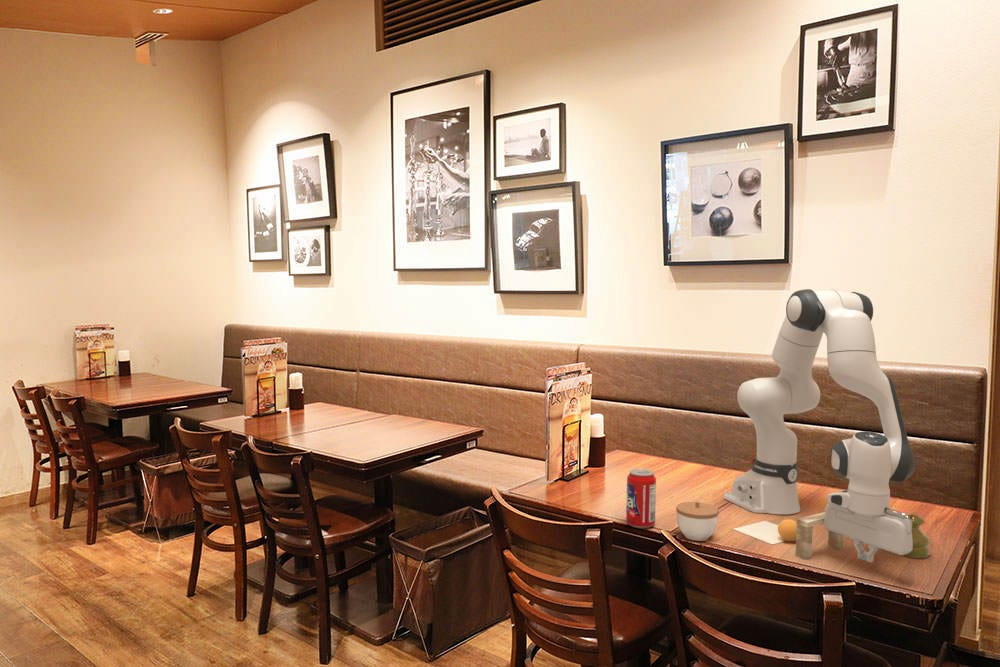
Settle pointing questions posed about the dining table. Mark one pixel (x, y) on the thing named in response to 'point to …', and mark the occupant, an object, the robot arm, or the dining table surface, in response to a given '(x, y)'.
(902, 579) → the dining table surface
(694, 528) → the lidded jar
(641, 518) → the soda can
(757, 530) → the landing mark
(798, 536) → the bridge
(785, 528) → the ball
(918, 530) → the green tiered figurine
